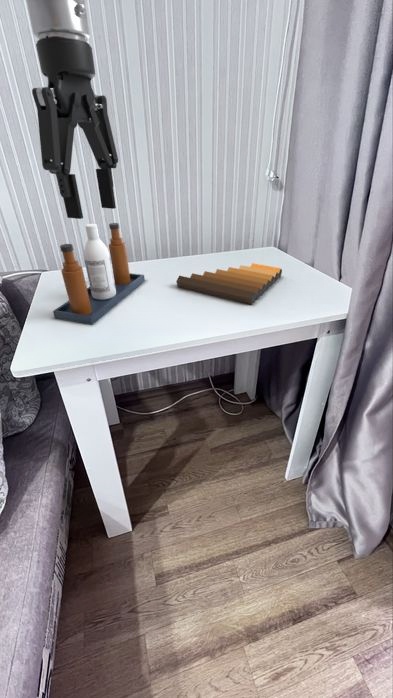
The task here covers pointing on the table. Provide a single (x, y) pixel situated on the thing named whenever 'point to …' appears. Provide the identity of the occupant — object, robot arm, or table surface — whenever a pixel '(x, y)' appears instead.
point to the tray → (99, 303)
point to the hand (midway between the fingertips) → (93, 212)
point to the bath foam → (98, 265)
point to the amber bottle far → (118, 256)
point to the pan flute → (234, 282)
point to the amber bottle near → (75, 282)
